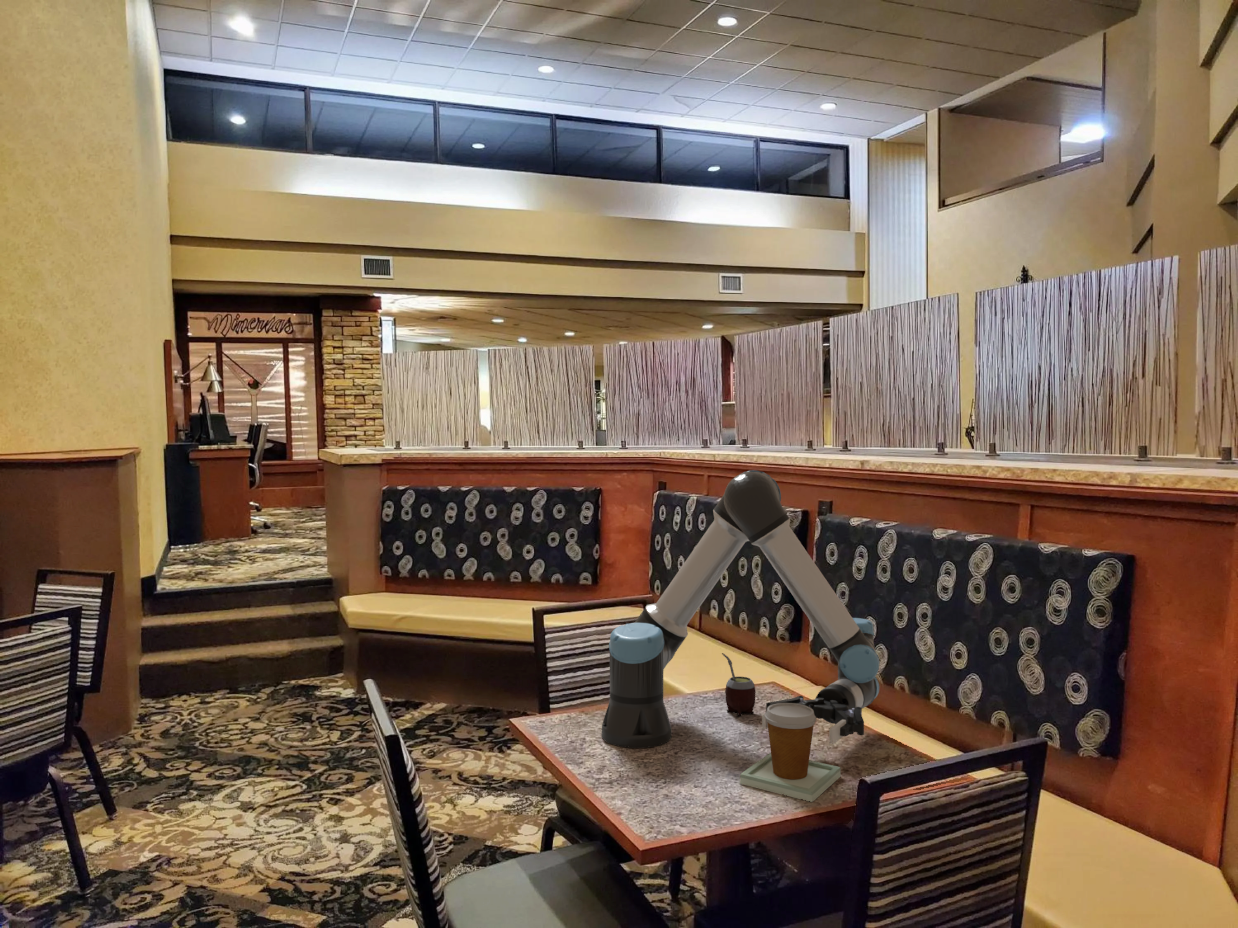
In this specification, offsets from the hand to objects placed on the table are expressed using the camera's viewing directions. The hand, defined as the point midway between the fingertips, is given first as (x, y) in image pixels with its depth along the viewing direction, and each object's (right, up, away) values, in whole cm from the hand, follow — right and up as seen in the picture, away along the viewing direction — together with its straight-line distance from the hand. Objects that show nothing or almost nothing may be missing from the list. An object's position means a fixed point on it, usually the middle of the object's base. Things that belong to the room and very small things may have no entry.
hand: (796, 728), depth 155 cm
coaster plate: (-1, -9, -1) cm, 9 cm away
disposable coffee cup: (-1, -8, -1) cm, 8 cm away
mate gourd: (-5, -9, +38) cm, 40 cm away
